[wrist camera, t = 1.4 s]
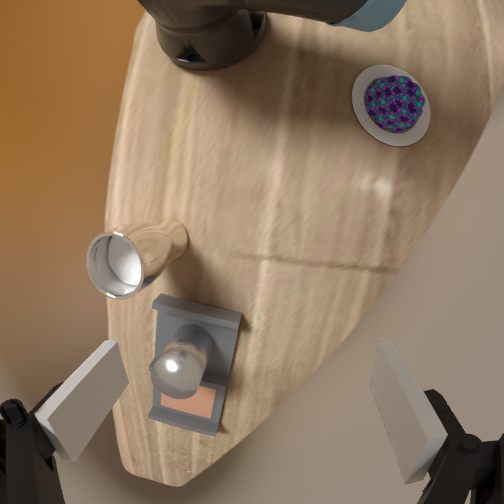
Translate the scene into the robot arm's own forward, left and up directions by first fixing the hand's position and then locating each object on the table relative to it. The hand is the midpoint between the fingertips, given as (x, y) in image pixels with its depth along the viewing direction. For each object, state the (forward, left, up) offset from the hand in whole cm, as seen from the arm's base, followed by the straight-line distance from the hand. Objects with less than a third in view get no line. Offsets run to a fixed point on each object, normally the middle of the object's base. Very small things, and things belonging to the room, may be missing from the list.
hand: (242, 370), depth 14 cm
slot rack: (+11, -19, -27) cm, 35 cm away
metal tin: (+7, -15, -26) cm, 31 cm away
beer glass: (-8, -11, -27) cm, 30 cm away
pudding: (-10, +25, -27) cm, 38 cm away
